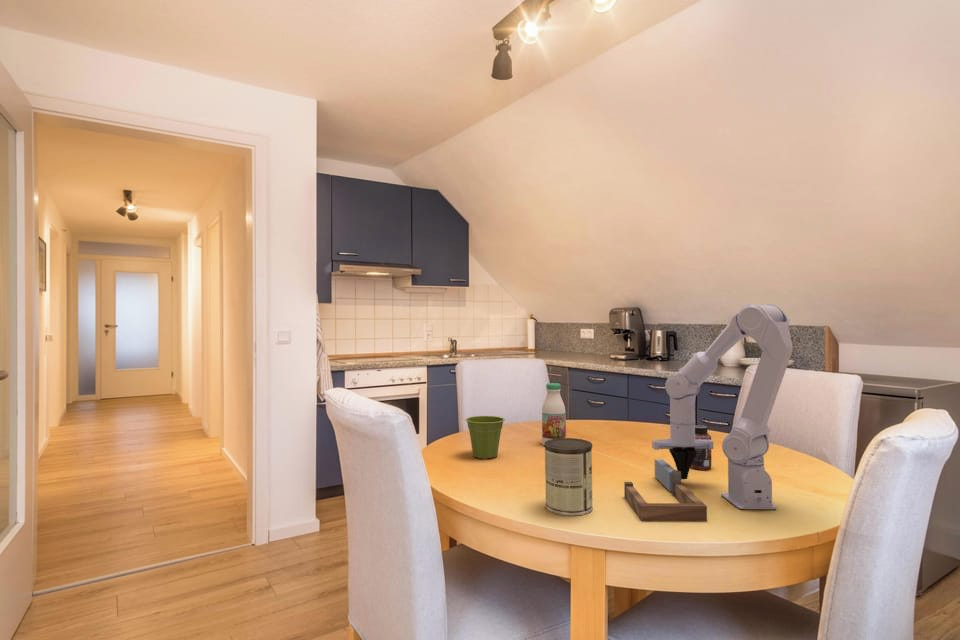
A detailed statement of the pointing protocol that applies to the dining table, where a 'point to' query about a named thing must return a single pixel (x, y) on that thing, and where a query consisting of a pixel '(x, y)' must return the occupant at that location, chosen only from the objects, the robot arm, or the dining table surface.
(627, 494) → the wooden u-shaped frame
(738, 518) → the dining table surface
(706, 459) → the supplement bottle
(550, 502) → the coffee can
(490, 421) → the plant pot
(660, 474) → the gate
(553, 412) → the milk bottle
